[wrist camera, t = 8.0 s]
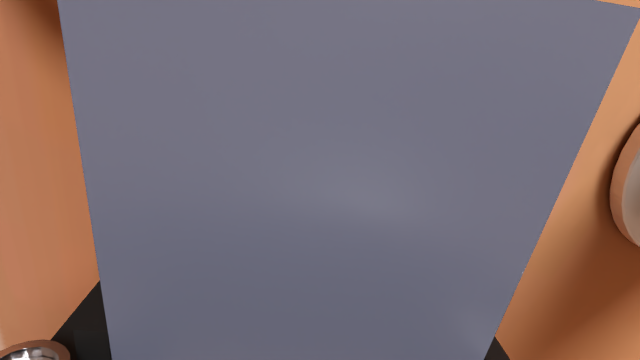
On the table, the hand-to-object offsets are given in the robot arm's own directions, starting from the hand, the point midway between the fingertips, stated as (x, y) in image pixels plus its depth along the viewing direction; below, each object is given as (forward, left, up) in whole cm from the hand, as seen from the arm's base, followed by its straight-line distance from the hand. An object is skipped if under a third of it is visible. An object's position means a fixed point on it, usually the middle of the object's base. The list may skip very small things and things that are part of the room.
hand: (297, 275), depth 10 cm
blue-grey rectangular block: (0, 0, -1) cm, 1 cm away
